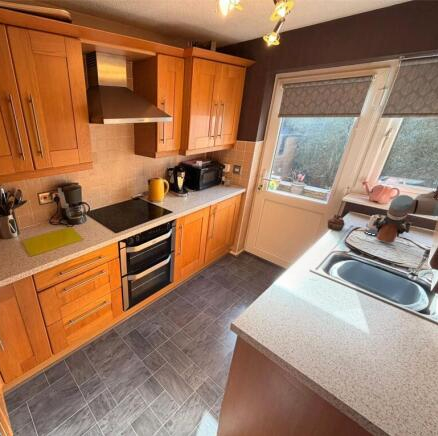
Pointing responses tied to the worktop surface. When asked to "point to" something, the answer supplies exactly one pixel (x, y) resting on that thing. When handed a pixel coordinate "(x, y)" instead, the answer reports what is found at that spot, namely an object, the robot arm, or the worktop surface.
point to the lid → (371, 232)
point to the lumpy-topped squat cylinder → (373, 222)
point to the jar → (388, 233)
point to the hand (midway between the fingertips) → (387, 232)
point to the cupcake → (336, 223)
